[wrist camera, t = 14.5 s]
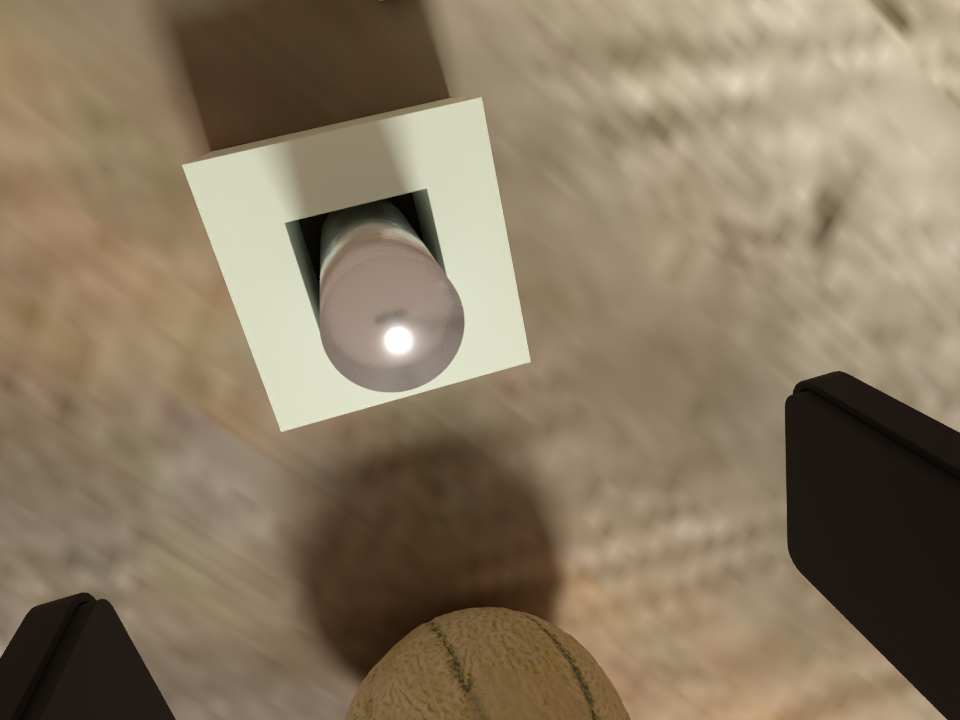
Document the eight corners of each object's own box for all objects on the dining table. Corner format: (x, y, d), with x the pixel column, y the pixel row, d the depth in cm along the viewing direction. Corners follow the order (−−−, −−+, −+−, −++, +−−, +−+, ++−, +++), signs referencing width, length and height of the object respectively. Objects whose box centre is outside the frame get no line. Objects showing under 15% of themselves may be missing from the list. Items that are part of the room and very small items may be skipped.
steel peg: (399, 185, 29) (447, 238, 18) (421, 273, 30) (477, 371, 19) (308, 208, 28) (300, 276, 17) (335, 295, 30) (343, 408, 19)
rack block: (450, 97, 28) (481, 97, 22) (494, 316, 32) (530, 361, 26) (210, 151, 27) (182, 165, 21) (288, 372, 31) (281, 431, 25)
